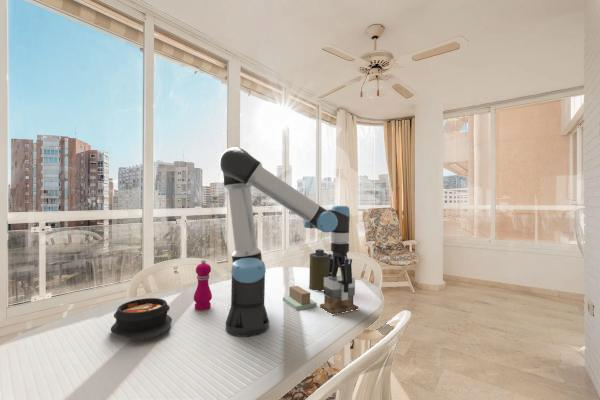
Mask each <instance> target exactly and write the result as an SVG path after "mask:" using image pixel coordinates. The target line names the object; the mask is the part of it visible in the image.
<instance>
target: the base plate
mask: <svg viewBox="0 0 600 400" xmlns="http://www.w3.org/2000/svg"><path fill="white" fill-rule="evenodd" d="M341 290H342V289H338V290H331V289H329V288H327V287H325V286H324V291H323V296H324V295H326V296H328V297H330V298H332V299H336V298H341ZM355 295H356V286H355V287H352V288H348V296H353V297H354V296H355Z"/></svg>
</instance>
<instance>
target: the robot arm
mask: <svg viewBox="0 0 600 400" xmlns="http://www.w3.org/2000/svg"><path fill="white" fill-rule="evenodd" d="M218 164H219V168H220V171H221V172H222V180H223V181H222V182H223V187H224V188H225V189H226V190H227V191H228V199H229V206H230V215H231V216H230V218H231V224H232V225H231V226H232V233H233V234H232V235H233V242H234V251H233V253H231V259H232V260H231V261H232V266H231V270H230V272H231V273H230V274H231V289H230V290H231V293H230V294H231V298H230V308H229V312H228V315H227V317H226V320H225V331H226V332H227V333H228V334H230V335H232V336H237V337H252V336H257V335H261V334H264V333H265V332H267V330H268V329H269V327H270V319H269V316H268V312H267V309H266V305H265V292H266V291H265V289H266V288H265V287H266V286H265V285H266V273H267V272H266V264H265V261H263V257H262V256H263V255H262V250H261V249H260V248H259V247H258V245H257V238H256V237H257V236H256V228H255V219H254V210H253V201H252V192H251V187H253V188H255V189H257V190H258V191H259V192H262V193H263V194H264V195H266V196H267V197H269V198H270V199H272V200H273V201H275V202H277V203H278V204H279V205H282V206H283V207H284V208H285V209H288V210H289V211H291V212H292V213H294V214H295V215H296V216H298V217H299V218H301V219H302V223H303V228H305V229H310V230H311V229H316V230H319V231H321V232H322V233H330V241H331V243H330V252H332V253H329V265H328V276H329V277H331V276H338V272H339V271H340V275H342V281H343V283H342V290H341V300H342V301H343V300H348V287H349V284H352V278H353V272H352V271H353V270H352V262H353V259H352V258H349V257H348V253H349V252H350V243H349V242H350V219H351V216H350V207H349V206H348V205H332V206H331V209H330V210H329V209H328V210H327V209H326V208H324V207H323V206H320V205H319V204H318V203H316V202H315V201H314V200H312V199H310V198H309V197H308V196H306V195H304V194H303V193H302V192H300V191H299V190H297V189H295V188H294V187H293V186H291V185H289V184H288V183H287V182H285V181H284V180H282V179H281V178H279V177H278V176H277V175H275V174H273V173H272V172H271V171H269V170H267V169H266V168H264V167H263V165H262V162H261V161H259V160H257V159H256V157H253V156H252V155H251V154H250V153H249V152H248V151H246V150H245V149H243V148H241V147H238V146H237V147H235V146H234V147H230V148H227V149H226V150H224V151H223V152H222V153H221V156H220V158H219V163H218ZM339 269H340V270H339Z"/></svg>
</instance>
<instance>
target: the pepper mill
mask: <svg viewBox="0 0 600 400" xmlns="http://www.w3.org/2000/svg"><path fill="white" fill-rule="evenodd" d="M206 262H207V261H206V260H205V259H202V260H201V263H199V264H197V266H196V267H195V273H196V274H197V275H196V279H197V285H196V286H197V287H196V289H195V291H194V294H193V301H194V302H195V303H194V309H195V310H196V311H207V310H209V309H211V307H212V305H211V300H212V298H213V294H212V291H211V289H210V285H209V279H210V278H211V277H210V273H211V271H212V268H211V265H210V264H209V263H206Z"/></svg>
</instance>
